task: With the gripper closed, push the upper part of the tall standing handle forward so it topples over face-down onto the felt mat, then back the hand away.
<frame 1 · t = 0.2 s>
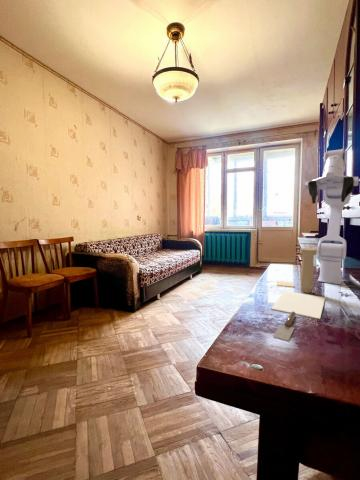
hand: (327, 200, 75), 31 cm above the table, tool tilted 45°, fingers open, 7 cm apart
turner: (286, 328, 57), on the table
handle: (305, 292, 86), on the table
felt mat: (299, 303, 74), on the table
beige tile: (284, 286, 95), on the table
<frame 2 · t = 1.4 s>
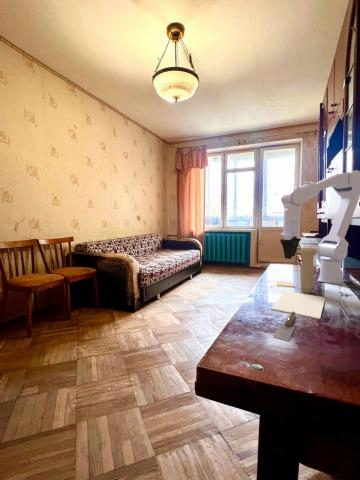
hand: (290, 257, 95), 10 cm above the table, tool pointing down, fingers open, 7 cm apart
nothing on the table moved.
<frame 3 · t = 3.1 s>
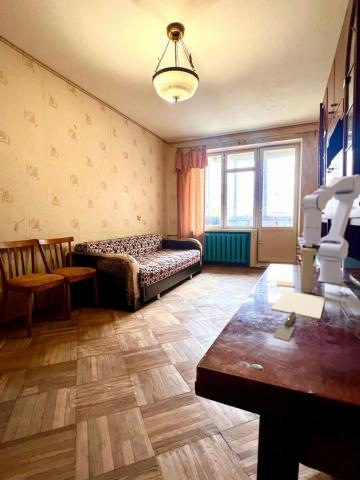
hand: (310, 264, 91), 8 cm above the table, tool pointing down, fingers closed
nothing on the table moved.
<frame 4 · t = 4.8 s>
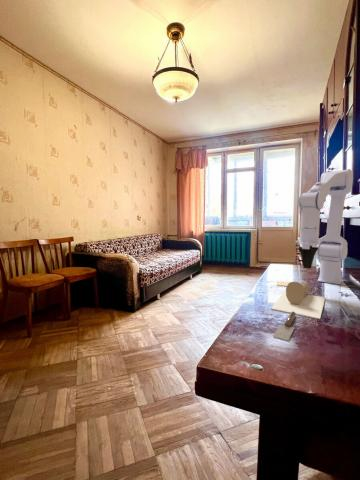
hand: (307, 268, 85), 8 cm above the table, tool pointing down, fingers closed
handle: (305, 287, 84), point 2 cm above the table, touching felt mat
everything else where it was.
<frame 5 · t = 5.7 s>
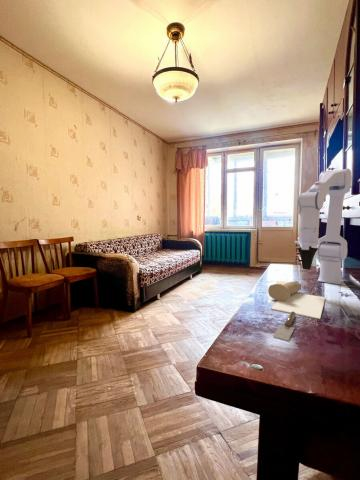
hand: (306, 269, 83), 8 cm above the table, tool pointing down, fingers closed
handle: (297, 285, 86), point 2 cm above the table, touching felt mat
everything else where it was.
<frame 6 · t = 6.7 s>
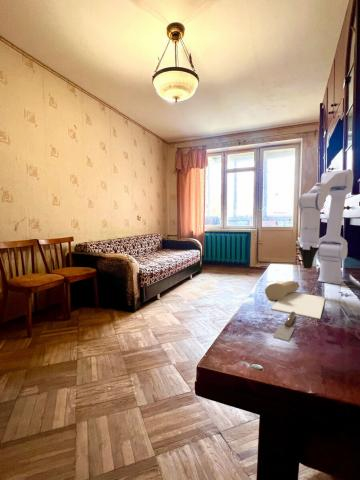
hand: (307, 268, 85), 8 cm above the table, tool pointing down, fingers closed
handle: (295, 285, 87), point 2 cm above the table, touching felt mat
everything else where it was.
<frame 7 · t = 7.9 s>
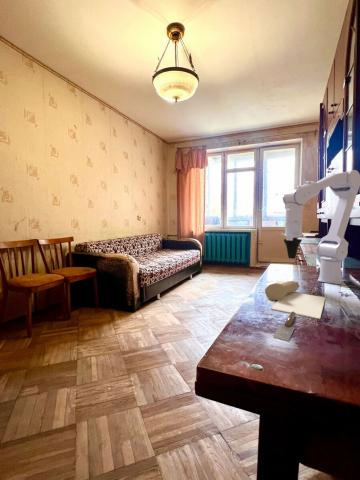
hand: (291, 258, 93), 10 cm above the table, tool pointing down, fingers closed
nothing on the table moved.
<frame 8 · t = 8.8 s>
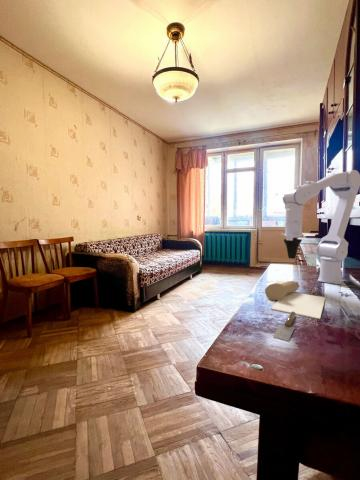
hand: (291, 258, 93), 10 cm above the table, tool pointing down, fingers closed
nothing on the table moved.
at the end: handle tilted 87°; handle inside the target area (5.6 cm from its centre), point 2.0 cm above the table; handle touching felt mat, table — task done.
